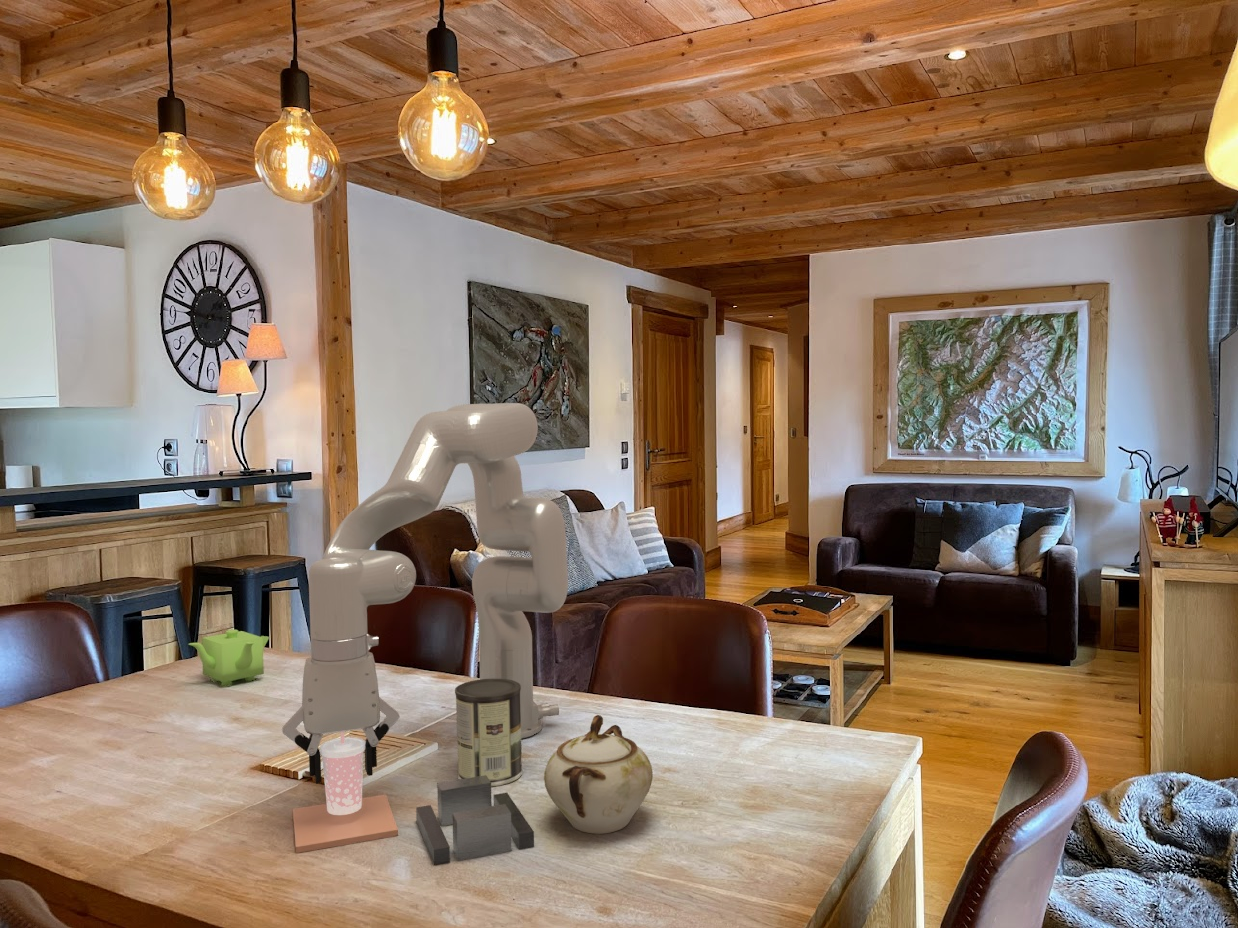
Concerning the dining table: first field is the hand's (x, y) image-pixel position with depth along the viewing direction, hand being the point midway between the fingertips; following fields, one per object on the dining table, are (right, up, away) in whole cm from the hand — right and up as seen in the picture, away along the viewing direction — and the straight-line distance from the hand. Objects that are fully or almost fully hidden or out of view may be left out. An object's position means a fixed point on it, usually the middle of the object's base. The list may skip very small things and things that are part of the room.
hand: (343, 775), depth 126 cm
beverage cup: (0, -5, 0) cm, 5 cm away
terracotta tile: (0, -7, 0) cm, 7 cm away
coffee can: (+18, -6, +18) cm, 26 cm away
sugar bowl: (+35, -7, 0) cm, 36 cm away
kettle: (-48, -5, +76) cm, 90 cm away
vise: (+19, -7, -3) cm, 20 cm away
